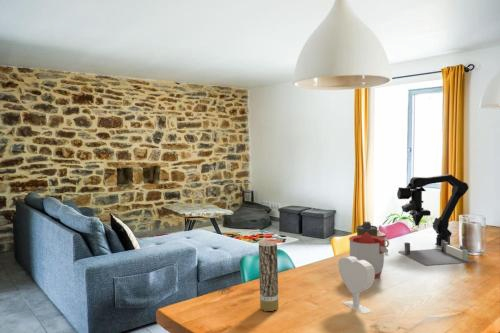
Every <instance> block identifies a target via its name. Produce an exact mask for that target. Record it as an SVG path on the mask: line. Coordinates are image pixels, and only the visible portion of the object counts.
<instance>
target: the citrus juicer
mask: <svg viewBox="0 0 500 333" xmlns="http://www.w3.org/2000/svg"><path fill="white" fill-rule="evenodd" d="M348 241H349V256H353V257H356V258H357V259H358V260H365V261H367V262H369V263H370V264H371V265H372V266H373V267H374V270H375V278H374V279H377V278H379V277H381V274H382V272H383V269H384V268H383V267H384V263H385V255H386V254H389V249H388V247H386V248H385V243H384V239H383V238H381V237H377V236H370V235H369V234H368V233H367V232H366V233H364V234H363V235H358V236H357V235H352V236H350V237H349V238H348Z"/></svg>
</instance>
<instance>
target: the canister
mask: <svg viewBox="0 0 500 333" xmlns="http://www.w3.org/2000/svg"><path fill="white" fill-rule="evenodd" d="M371 224H372V223H371V221H363V223H362V225H361V224H360V225H358V226H356V236H358V235H363V234H364V233H366V232H367V233H368V234H369V235H370V236H377V229H378V226H376V225H371Z"/></svg>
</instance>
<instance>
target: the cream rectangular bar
mask: <svg viewBox="0 0 500 333" xmlns="http://www.w3.org/2000/svg"><path fill="white" fill-rule="evenodd" d="M450 245H451V244H450ZM450 245H448V242H444V252H446V253H448V254H451V255H453V256H455V257H457V258H460V259H462V260H464V261H468V258H469V251H468V249H465V250H460V248H457V247H455V246H450Z"/></svg>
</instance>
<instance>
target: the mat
mask: <svg viewBox="0 0 500 333" xmlns="http://www.w3.org/2000/svg"><path fill="white" fill-rule="evenodd" d="M398 254H401V255H403V256H405V257H407V258H409V259H411V260H413V261H414V262H418V263H419V264H421V265H423V266H425V267H429V266H431V267H432V266H442V265H457V264H470V263H471V264H472V263H476V262H477V261H476V260H474V259H471V258H469V257H468V261H464V260H462V259H460V258H457V257H455V256H453V255H451V254H448V253H446V252H441V248H430V249H429V248H428V249H417V250H416V249H415V250H413V249H412V250H410V255H406V254H405V250H402V251H401V250H400V251H398Z"/></svg>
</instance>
